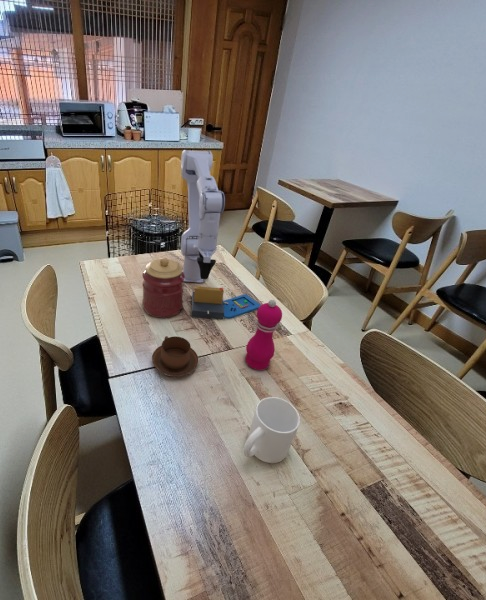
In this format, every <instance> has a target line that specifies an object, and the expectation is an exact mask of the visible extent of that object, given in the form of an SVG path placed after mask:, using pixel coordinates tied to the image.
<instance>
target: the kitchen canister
mask: <svg viewBox="0 0 486 600" xmlns="http://www.w3.org/2000/svg"><path fill="white" fill-rule="evenodd" d="M183 268H184V267H183V266H182V265H181V264H180V263H178V262H177V261H176V260H173V259H170V258H168V257H166V256H163V257H161V258H156V259H153V260H151V261H150V262H147V264H146V265H145V268H144V271H143V272H142V279H143V281H142V307H143V310H144V311H145V313H147V314H148V315H150V316H153V317H155V318H162V319H164V318H171V317H175V316H176V315H178V314H179V313H180V312H181V311H182V308H183V306H184V301H183V298H184V289H185V283H184V279H185V274H184V273H183Z"/></svg>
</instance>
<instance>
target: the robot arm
mask: <svg viewBox="0 0 486 600" xmlns="http://www.w3.org/2000/svg"><path fill="white" fill-rule="evenodd" d="M180 156H181V157H180V173H181V179H183V180H185V181H186V186H187V211H188V212H187V213H188V228H187V230H185V231H184V232H183V233H182V234H181V237H180V254H181V255H182V256H183V267H182V268H183V273H184V274H185V279H184V281H183V283H184V282H185V283H198V284H203V283H204V280H208V279H209V277H210V274H211V271H212V269H213V268H214V266H215V265H216V263H217V260H216V259H212V256H213V255H214V254H215V253H216V251H217V249H218V247H217V244H218V237H219V230H220V220H221V214H222V213H224V211H225V206H226V197H225V193H224V192H223V191H222V190H219V188H218V184H217V182H216V179H215V177H214V176H212V175H211V170H212V168H213V164H214V163H213V162H214V156H213V153H212V151H211V150H187V149H183V151H182V152H181V155H180Z"/></svg>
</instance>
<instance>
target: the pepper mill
mask: <svg viewBox="0 0 486 600" xmlns="http://www.w3.org/2000/svg"><path fill="white" fill-rule="evenodd" d="M260 305H261V306H260V307H259V308H258V309H257V310H256V318H257V319H256V323H255V325H256V330H255V333H254V334H253V336H251V338H250V339H249V340H248V341H247V344H246V348H245V351H246V355H245V363H246V365H247V366H248V367H249V368H251V369H253V370H257V371H264V370H266V369H268V368H269V366H270V362H271V359H273V358H274V356H275V352H276V351H275V343H274V338H273V336H274V332H275V331H277V327H278V324H280V323H281V321H282V320H283V319H282V318H283V311H282V308H281V307H280V306H279V305H277V302H276V300H275V299H269V301H268V302H265V303H262V304H260Z"/></svg>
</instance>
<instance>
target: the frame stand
mask: <svg viewBox="0 0 486 600" xmlns="http://www.w3.org/2000/svg"><path fill="white" fill-rule="evenodd" d="M194 293H195V291H192V292H191V299H187V301H189V302H191V318H202V319H203V318H204V319H213V320H224V318H223V317H224V306H223V301H224V299H223V300H222V304H215V303H202V302H194ZM224 303H227V302H224ZM227 304H228V303H227Z"/></svg>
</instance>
